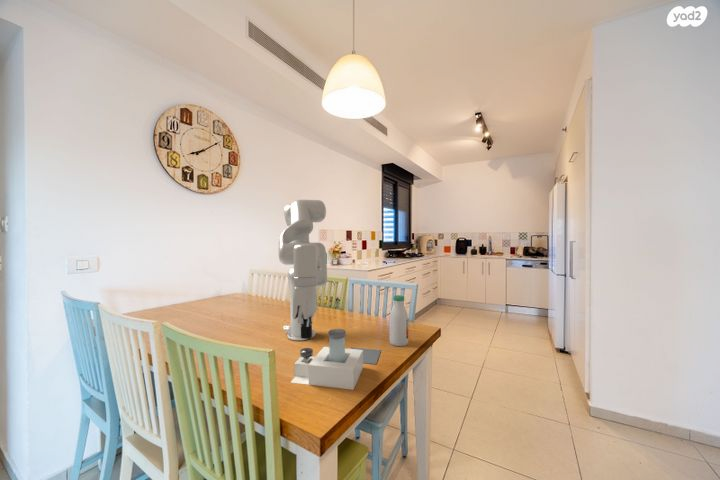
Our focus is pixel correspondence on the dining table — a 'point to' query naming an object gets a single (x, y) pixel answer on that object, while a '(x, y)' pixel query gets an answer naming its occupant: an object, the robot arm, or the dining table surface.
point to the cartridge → (337, 345)
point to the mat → (369, 355)
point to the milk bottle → (398, 322)
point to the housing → (329, 370)
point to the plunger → (306, 354)
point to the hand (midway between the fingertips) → (306, 337)
